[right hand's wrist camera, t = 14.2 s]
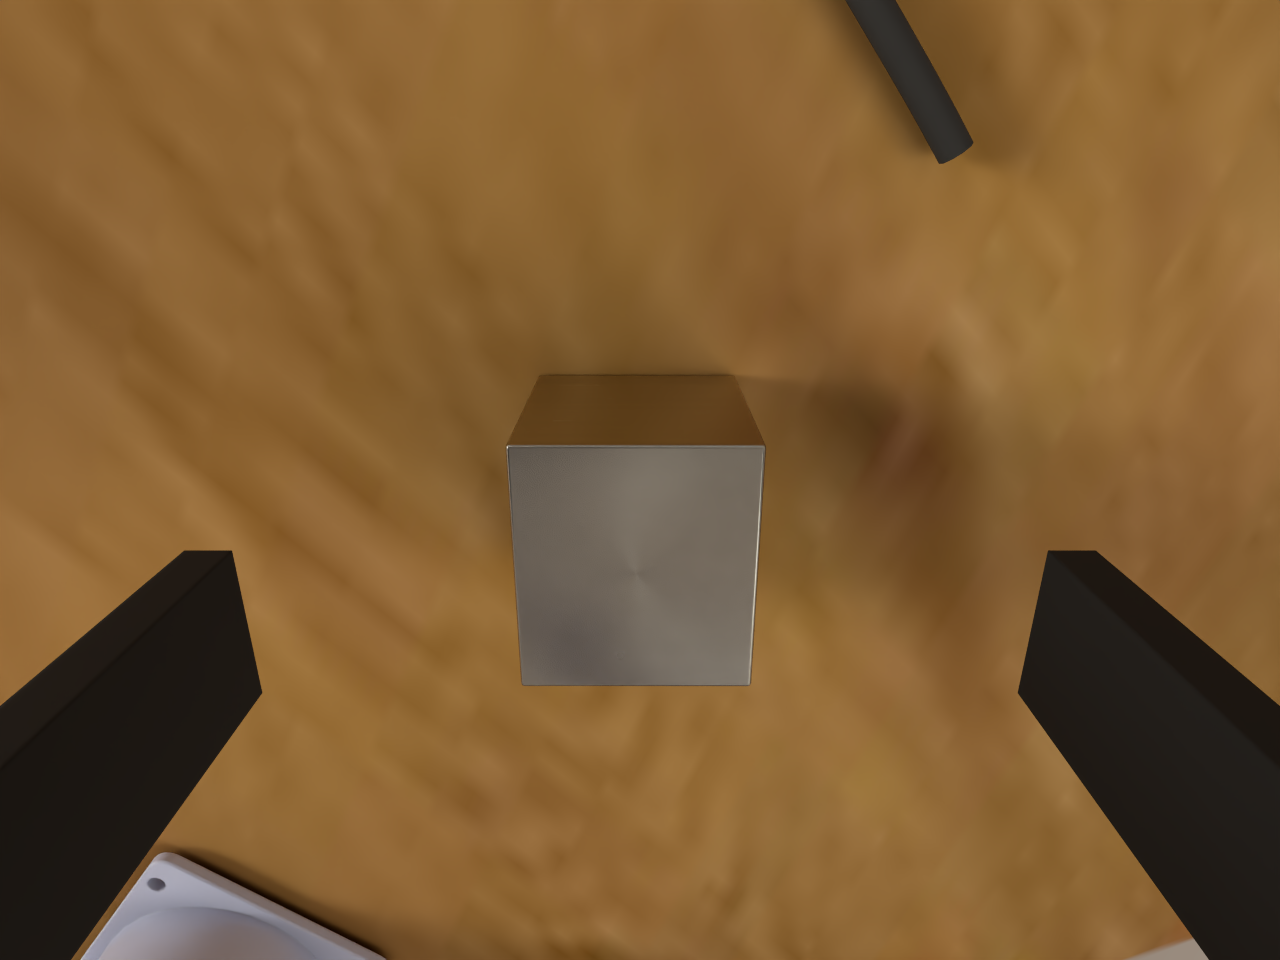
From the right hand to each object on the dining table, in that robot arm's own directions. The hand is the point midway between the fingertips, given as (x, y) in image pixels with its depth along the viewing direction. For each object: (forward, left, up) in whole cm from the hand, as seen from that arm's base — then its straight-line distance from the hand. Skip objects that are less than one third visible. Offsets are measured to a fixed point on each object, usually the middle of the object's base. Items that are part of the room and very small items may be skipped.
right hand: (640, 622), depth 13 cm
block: (0, 0, -7) cm, 7 cm away
